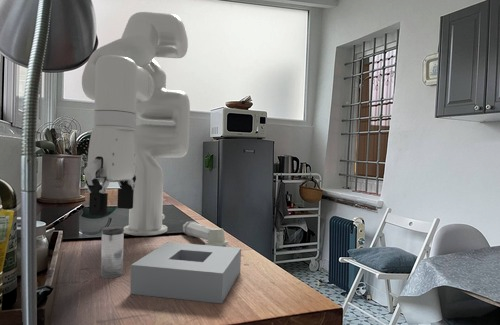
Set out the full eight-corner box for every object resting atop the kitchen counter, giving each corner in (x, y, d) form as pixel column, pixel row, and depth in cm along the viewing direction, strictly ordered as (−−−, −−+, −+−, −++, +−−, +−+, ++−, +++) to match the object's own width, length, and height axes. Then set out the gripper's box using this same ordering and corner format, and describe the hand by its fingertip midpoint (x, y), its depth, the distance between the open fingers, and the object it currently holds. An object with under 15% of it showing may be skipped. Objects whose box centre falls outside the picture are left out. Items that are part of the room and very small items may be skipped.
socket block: (166, 265, 78) (167, 242, 78) (240, 272, 76) (241, 247, 76) (130, 293, 63) (131, 264, 62) (221, 303, 60) (222, 273, 60)
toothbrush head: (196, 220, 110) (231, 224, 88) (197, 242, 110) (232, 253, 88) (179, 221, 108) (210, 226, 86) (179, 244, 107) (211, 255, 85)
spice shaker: (108, 270, 74) (109, 225, 74) (126, 272, 73) (127, 227, 73) (96, 276, 70) (97, 230, 70) (116, 278, 69) (117, 231, 69)
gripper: (120, 126, 80) (117, 205, 80) (68, 117, 63) (65, 217, 63) (152, 127, 78) (150, 207, 79) (108, 117, 61) (105, 219, 62)
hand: (112, 211), depth 71 cm, fingers open, 9 cm apart
